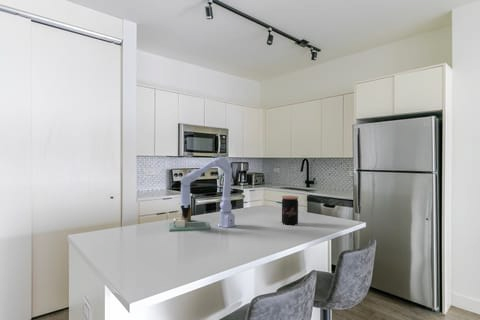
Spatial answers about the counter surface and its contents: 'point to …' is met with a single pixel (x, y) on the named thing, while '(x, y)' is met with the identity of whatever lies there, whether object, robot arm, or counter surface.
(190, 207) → the condiment
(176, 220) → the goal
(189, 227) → the pitch
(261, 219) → the counter surface
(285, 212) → the coffee jar
